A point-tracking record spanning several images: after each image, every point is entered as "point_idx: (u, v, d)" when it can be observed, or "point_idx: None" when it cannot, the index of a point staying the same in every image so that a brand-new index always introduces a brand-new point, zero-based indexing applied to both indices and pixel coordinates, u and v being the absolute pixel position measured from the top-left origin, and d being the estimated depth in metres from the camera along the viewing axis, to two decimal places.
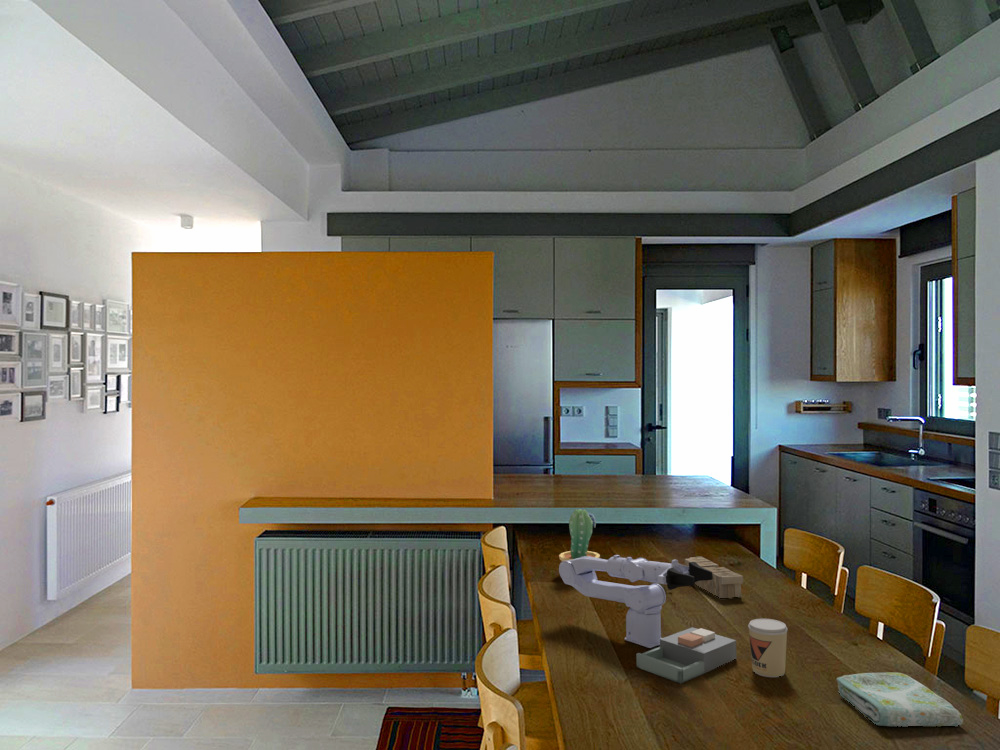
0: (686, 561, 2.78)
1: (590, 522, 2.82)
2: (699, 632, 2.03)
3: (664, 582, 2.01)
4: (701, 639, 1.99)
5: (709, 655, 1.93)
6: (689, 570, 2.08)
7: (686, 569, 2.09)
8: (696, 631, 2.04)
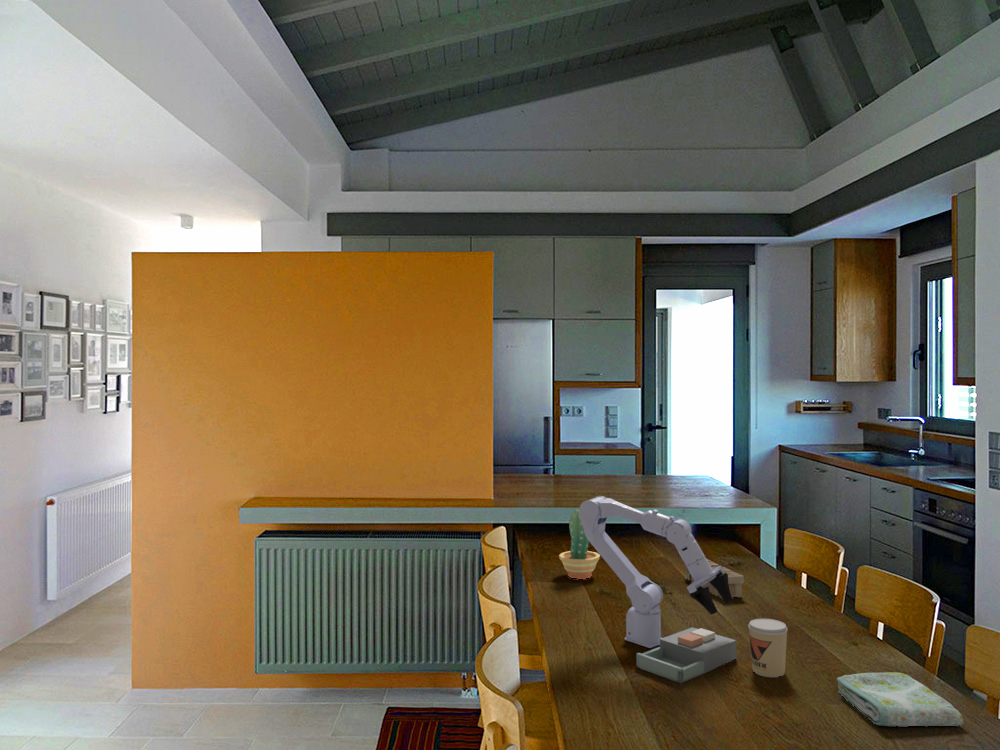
0: None
1: None
2: (699, 632, 2.03)
3: (691, 592, 2.02)
4: (701, 639, 1.99)
5: (709, 655, 1.93)
6: (717, 577, 2.08)
7: (715, 572, 2.09)
8: (696, 631, 2.04)
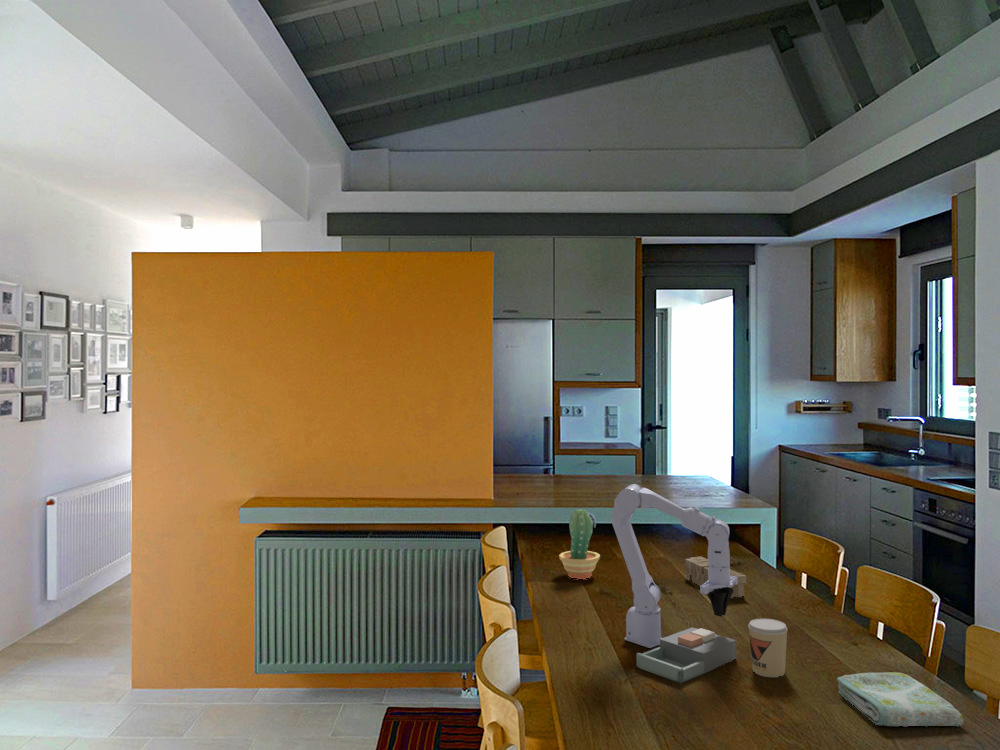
0: (687, 561, 2.77)
1: (590, 522, 2.82)
2: (699, 632, 2.03)
3: None
4: (701, 639, 1.99)
5: (709, 655, 1.93)
6: (729, 586, 2.10)
7: None
8: (696, 631, 2.04)
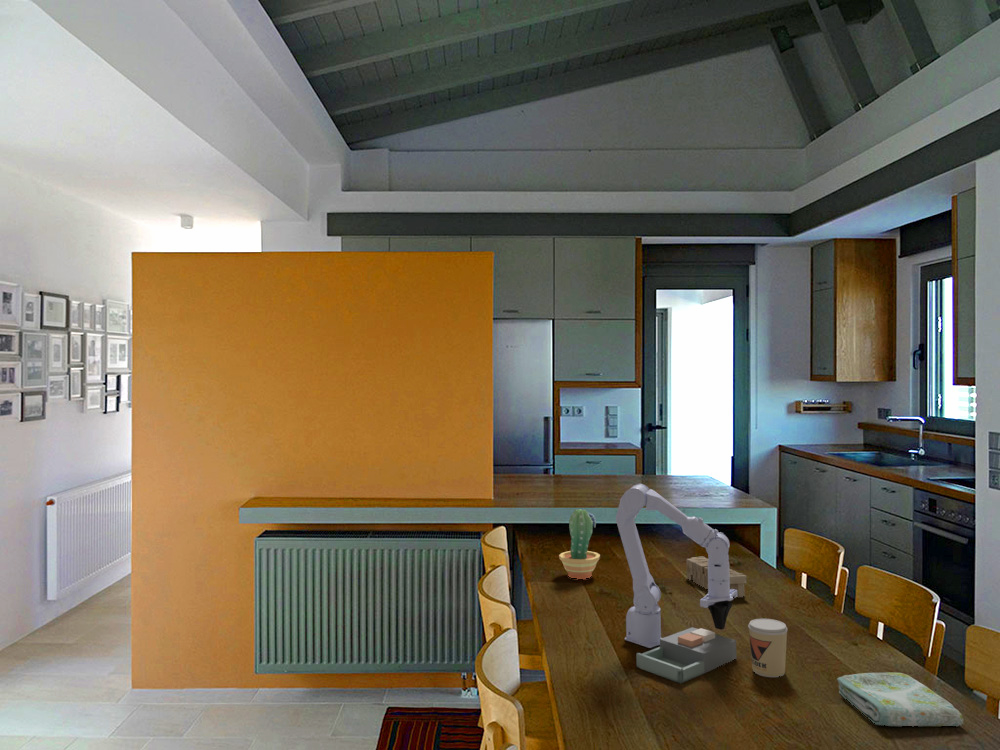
0: (688, 561, 2.78)
1: (590, 522, 2.82)
2: (699, 632, 2.03)
3: None
4: (701, 639, 1.99)
5: (709, 655, 1.93)
6: None
7: None
8: (696, 631, 2.04)
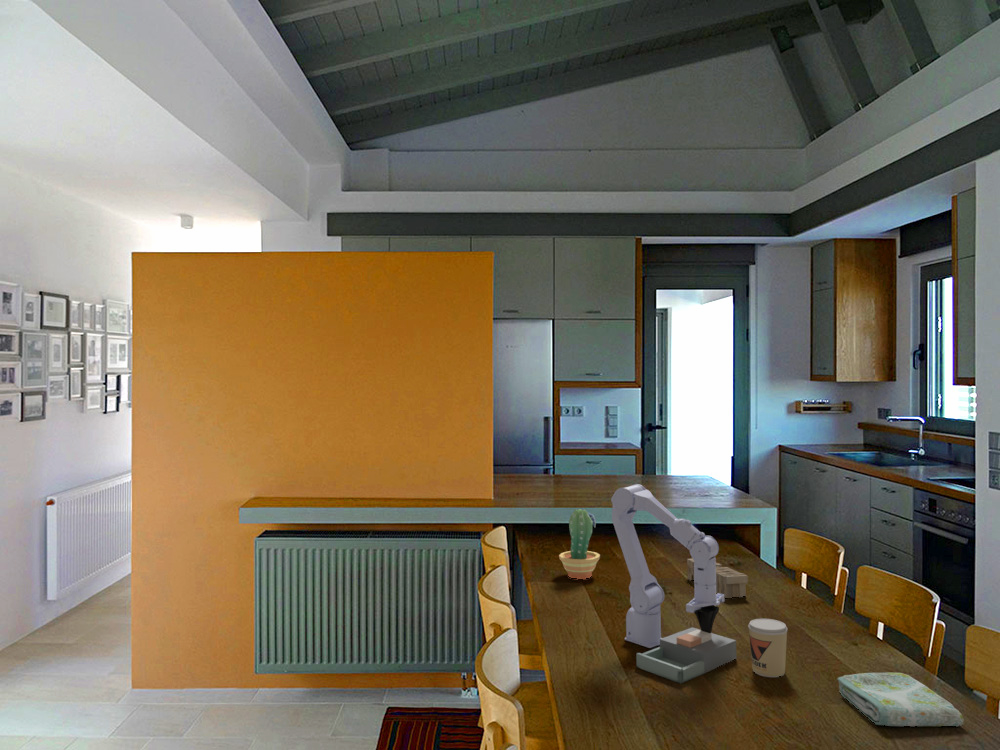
0: (689, 561, 2.78)
1: (590, 522, 2.82)
2: (695, 633, 2.02)
3: None
4: (700, 640, 1.99)
5: (709, 655, 1.93)
6: None
7: None
8: (692, 632, 2.03)
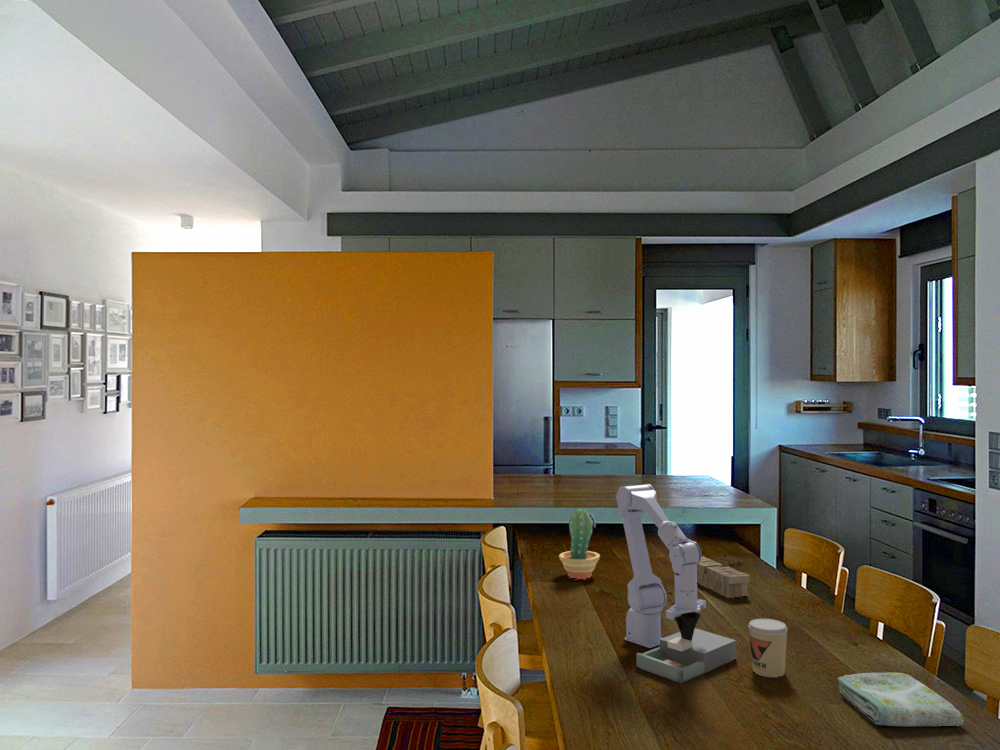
0: None
1: (590, 522, 2.82)
2: (676, 641, 1.97)
3: None
4: None
5: (709, 655, 1.93)
6: None
7: None
8: (673, 640, 1.97)
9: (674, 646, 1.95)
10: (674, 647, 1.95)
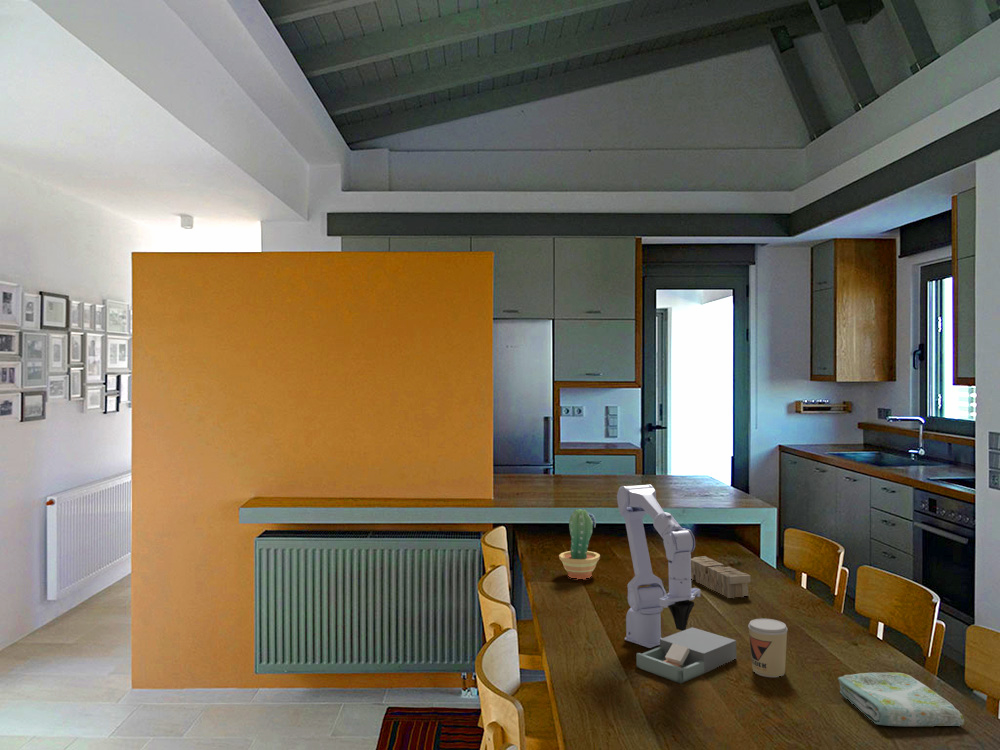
0: None
1: (590, 522, 2.82)
2: (673, 654, 1.95)
3: None
4: None
5: (709, 655, 1.93)
6: None
7: None
8: (670, 653, 1.95)
9: (673, 660, 1.94)
10: (673, 661, 1.94)
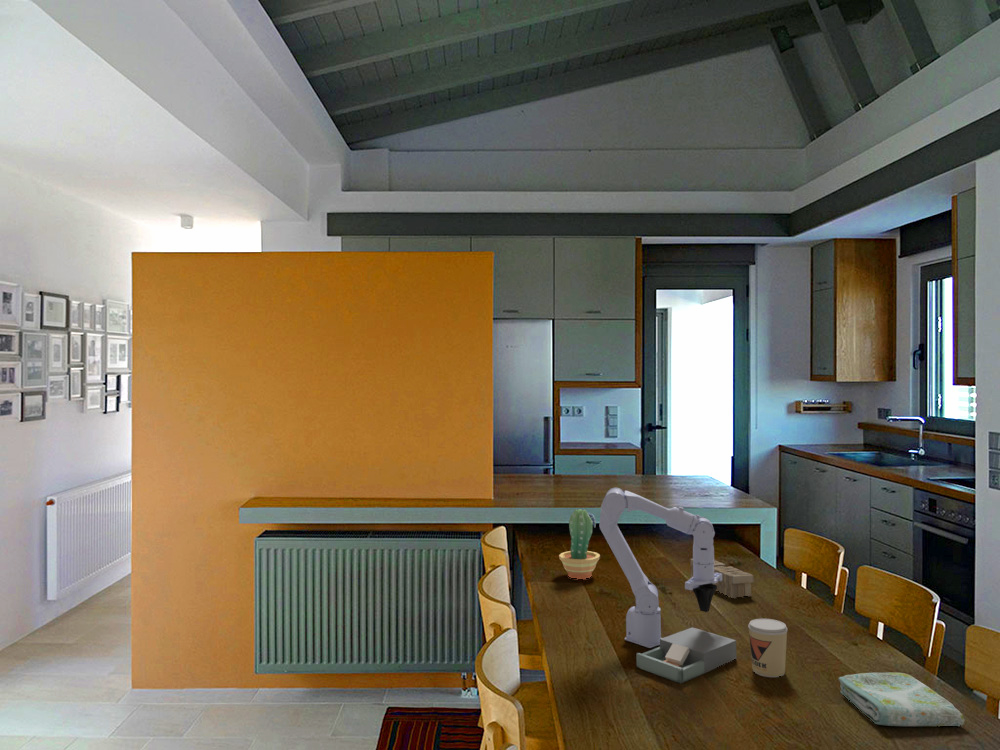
0: (692, 561, 2.78)
1: (590, 522, 2.82)
2: (673, 654, 1.95)
3: None
4: None
5: (709, 655, 1.93)
6: None
7: None
8: (670, 653, 1.95)
9: (673, 660, 1.94)
10: (673, 661, 1.94)
